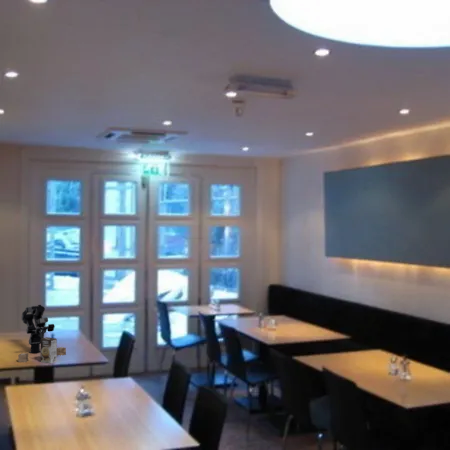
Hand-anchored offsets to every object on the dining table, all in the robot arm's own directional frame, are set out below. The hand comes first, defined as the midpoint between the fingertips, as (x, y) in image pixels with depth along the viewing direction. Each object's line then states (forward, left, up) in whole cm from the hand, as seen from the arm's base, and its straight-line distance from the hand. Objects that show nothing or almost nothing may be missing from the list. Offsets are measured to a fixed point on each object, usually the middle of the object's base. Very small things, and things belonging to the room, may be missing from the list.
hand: (42, 338), depth 424 cm
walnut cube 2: (-12, +6, -14) cm, 19 cm away
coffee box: (+9, +11, -14) cm, 20 cm away
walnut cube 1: (+14, -6, -14) cm, 20 cm away
